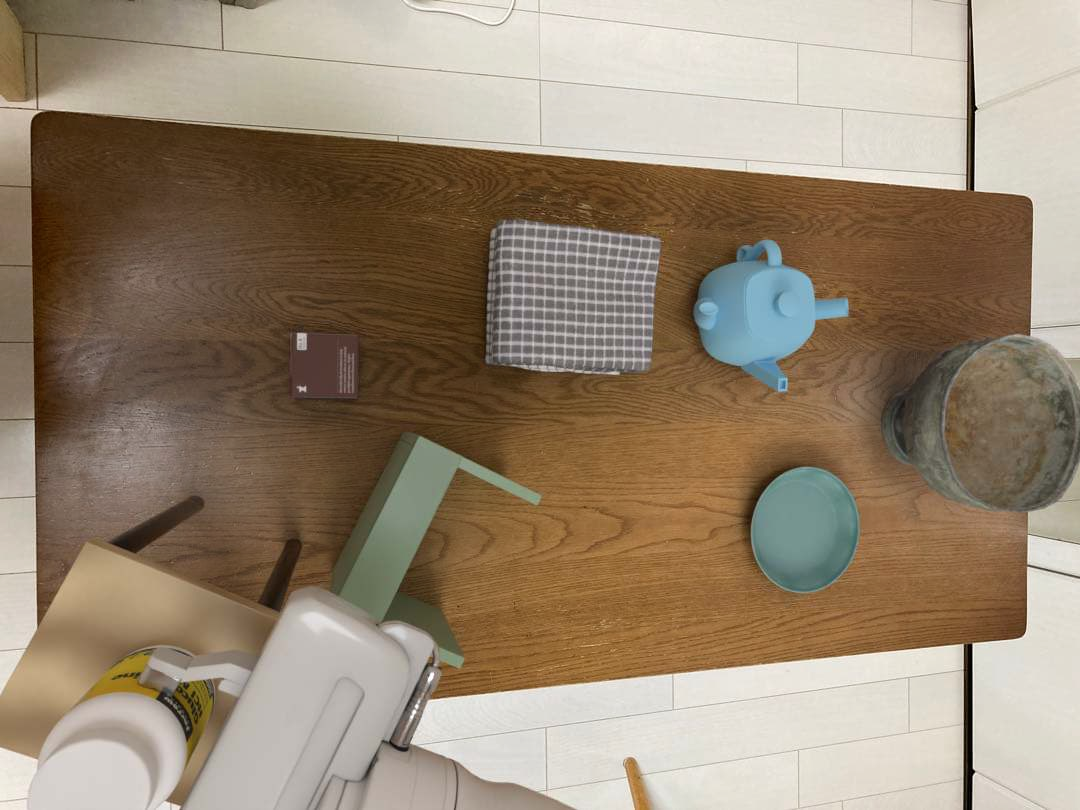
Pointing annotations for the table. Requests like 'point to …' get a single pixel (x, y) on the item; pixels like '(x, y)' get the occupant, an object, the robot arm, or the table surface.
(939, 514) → the table surface
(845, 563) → the saucer
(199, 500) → the stand legs
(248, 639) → the stand
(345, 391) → the box
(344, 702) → the robot arm
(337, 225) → the table surface
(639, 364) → the towel
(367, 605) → the cubby
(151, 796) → the pill bottle
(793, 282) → the teapot
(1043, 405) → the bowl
